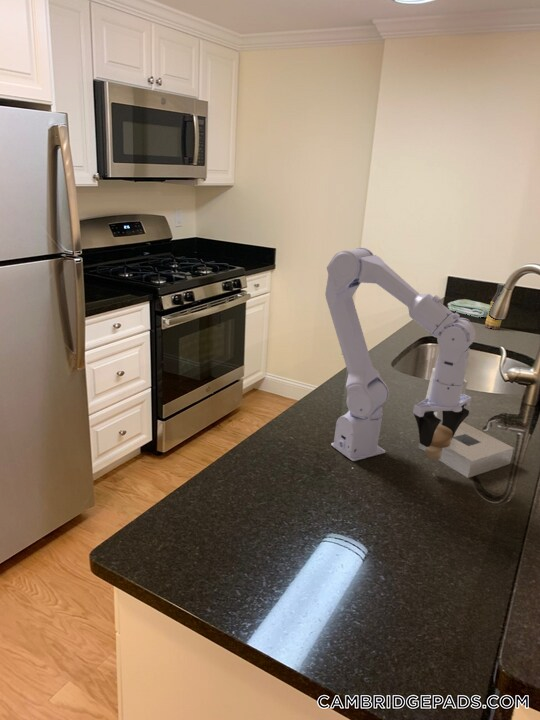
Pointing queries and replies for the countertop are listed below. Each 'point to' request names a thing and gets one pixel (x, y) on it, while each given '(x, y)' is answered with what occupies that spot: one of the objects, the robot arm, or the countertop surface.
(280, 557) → the countertop surface
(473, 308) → the towel
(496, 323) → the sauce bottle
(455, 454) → the block
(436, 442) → the pin
